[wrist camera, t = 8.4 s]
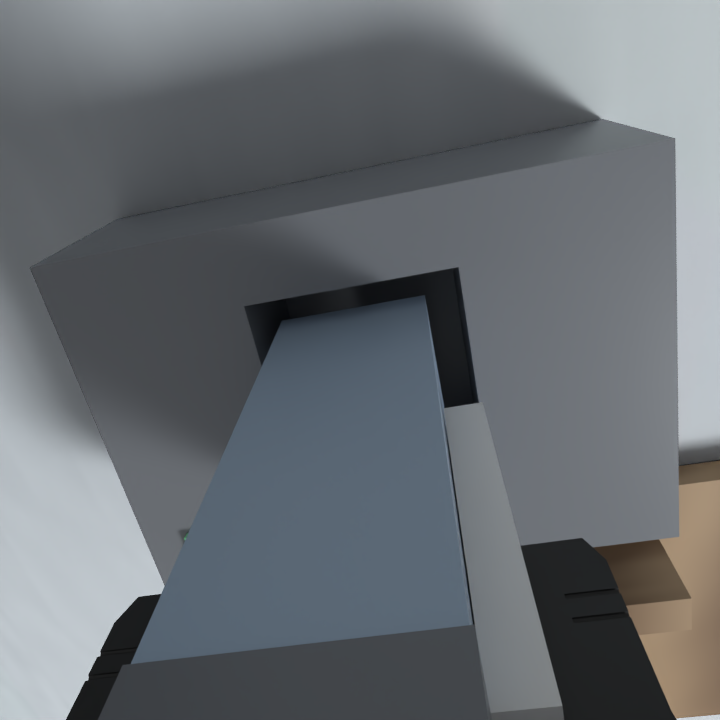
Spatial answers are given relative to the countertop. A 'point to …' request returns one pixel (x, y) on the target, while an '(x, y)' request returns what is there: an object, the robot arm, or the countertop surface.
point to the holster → (679, 595)
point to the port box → (399, 281)
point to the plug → (322, 546)
